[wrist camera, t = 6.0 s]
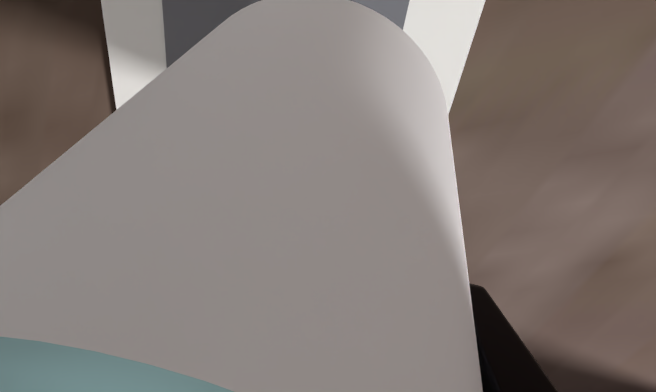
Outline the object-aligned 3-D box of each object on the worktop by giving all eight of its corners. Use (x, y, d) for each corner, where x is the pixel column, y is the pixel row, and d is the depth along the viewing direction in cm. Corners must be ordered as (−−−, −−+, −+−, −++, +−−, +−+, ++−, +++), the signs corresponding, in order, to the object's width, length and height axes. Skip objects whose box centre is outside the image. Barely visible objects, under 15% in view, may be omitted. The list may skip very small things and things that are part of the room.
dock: (416, 204, 22) (416, 213, 21) (128, 145, 23) (121, 152, 22) (537, -172, 14) (542, -173, 13) (76, -250, 14) (62, -254, 14)
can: (226, -64, 11) (-1405, 570, 1) (500, 57, 11) (966, 1140, 2) (176, 171, 15) (-263, 740, 5) (380, 250, 16) (322, 890, 6)
